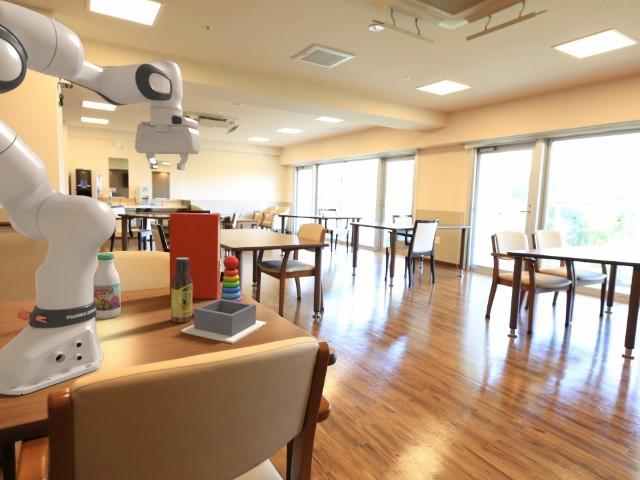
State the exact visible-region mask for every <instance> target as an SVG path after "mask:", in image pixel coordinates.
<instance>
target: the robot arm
mask: <svg viewBox="0 0 640 480" xmlns="http://www.w3.org/2000/svg"><path fill="white" fill-rule="evenodd" d="M27 70H30V71H34V72H36V73H40V74H42V75H46V76H50V77H54V78H59V79H62V80H64V81H66V82H69V83H71V84H74V85H76V86H79V87H82V88H85V89H86V90H90V91H92V92H94V93H95V94H97V95H98V96H100V97H101V98H102V99H103V100H104V101H106V102H107V103H109V104H111V105H113V106H117V107H118V106H119V107H120V106H125V105H131V104H144V103H149V104H150V106H149V121H143V120H142V121H140V123H138V125H137V126H136V134H135V141H134V142H135V143H134V148H135V151H136V152H137V153H138V154H144V155H145V158H146V159H147V161H148V163H149V169H150V170H158V169H159V167H158V166H159V163H156V161H155V158H156V154H157V155H158V154H159V155H179V158H180V161H179V163H178V162H177V163H176V169H177V170H179V171H185V170H186V163H187V162H188V159H189V155H198V154H199V152H200V151H201V139H200V137H201V136H200V133H199V130H198V128H199V122H198V121H196V120H195V119H192V118H189V117H187V116H186V115H184V109H183V107H182V101H183V97H184V86H183V84H184V83H183V77H182V76H183V75H182V72H181V69H180V67H179V66H178V65H177V63H175V62H174V61H172V60H169V59H166V58H154V59H153V60H152V61H149V62H145V63H144V62H142V63H134V64H133V63H131V64H125V65H117V66H116V65H111V66H110V65H109V66H108V65H107V66H102V67H101V66H98V65H96V64H94V63H91V62H90V61H88V60H85V50H84V46H83V44H82V41H81V39H80V37H79V35H77V33H76V32H74V31H73V30H72V29H71V28H69V27H67V26H65V25H64V24H63V23H62V22H59V21H57V20H55V19H53V18H52V17H49V16H47V15H44V14H42V13H39V12H37V11H35V10H32V9H29V8H27V7H24V6H21V5H19V4H15V3H13V2H9V1H5V0H0V95H3V94H6V93H9V92H12V91H13V90H15V89H16V88H18V87H19V86H20V85H22V83H23V81H24V80H25V78H26V75H27ZM47 173H48V168H47V165H46V164H45V162H44V161H43V160H42V159H41V158H40V157H39V156H38V154H37V153H35V151H34V150H33V149H32V148H30V147H29V145H28V144H27V143H26V142H25V141H24V140H23V139H22V138H21V137H20V136H19V135H18V134H17V133H16V132H15V131H14V130H13V129H12V128H11V127H10V126H9V125H8V124H7V123H6V122H4V121H3V120H2V119H1V118H0V207H2V209H3V210H4V211H5V213H6V214H7V215H8V220H9V223H10V225H11V227H12V228H13V230H15V231H16V232H17V233H18V234H20V235H22V236H24V237H26V238H29V239H31V240H34V241H37V242H45V243H46V242H47V243H48V251H47V254H46V257H45V259H44V262H43V263H42V264H40V265H39V266H38V267H37V269H36V271H35V273H34V279H35V280H34V281H35V284H34V285H35V301H36V302H35V303H36V304H35V305H34V308H33V309H32V311H29V310H25V309H21V310H18V311H17V313H16V315H15V316H16V318H17V319H19V320H23V321H28V322H27V323H28V325H26V326H25V327H24V328H23V329H22V330H20V332H19V333H17V335H16V336H14V337H13V338H12V339H11V340H10V341H9V342H7V343H6V344H5V345H4V346H2V347H1V348H0V395H8V396H15V395H16V396H22V395H21V394H23V395H27V394H29V393H32V392H36V391H38V390H41V389H44V388H47V387H51V386H53V385H55V384H58V383H62V382H64V381H67V380H70V379H73V378H76V377H79V376H82V375H86V374H88V373H90V372H93V371H96V370H98V369H100V363H101V361H102V360H103V358H104V353H103V351H102V348H101V345H100V341H99V340H100V339H99V338H98V332H97V331H98V330H97V324H96V319H97V318H96V314H97V312H96V300H95V299H94V274H95V273H94V272H95V271H94V270H95V265H96V262H97V261H96V260H97V255H98V254H99V251H100V250H101V247H102V246H103V245H104V243H105V242H107V241H108V240H109V239H110V238H111V237H112V235H113V234H114V232H115V229H116V225H117V219H116V214H115V212H114V210H113V208H112V207H111V206H110V205H109V204H107V203H106V202H104V201H102V200H99V199H97V198H93V197H91V196H86V195H79V194H78V195H73V194H64V193H62V192H60V191H59V190H57V189H56V188H54V186H53V185H52V184H51V182H50V181H49V179H48V177H47Z"/></svg>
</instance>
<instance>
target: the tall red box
mask: <svg viewBox="0 0 640 480" xmlns="http://www.w3.org/2000/svg"><path fill="white" fill-rule="evenodd" d="M168 217H169V299H171V288H172V279H173V277H174V275H175V274H176V262H175V259H176V258H189V265H188V266H189V267H188V270H189V275H190V278H191V280H192V300H193V299H195V300H196V299H198V300H199V299H203V300H204V299H205V300H206V299H208V300H209V299H210V300H211V299H212V300H213V299H215V300H218V298H219V296H220V295H221V222H222V221H221V214H220V213H199V212H198V213H192V212H191V213H190V212H171V213H169V216H168Z"/></svg>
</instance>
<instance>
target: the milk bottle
mask: <svg viewBox="0 0 640 480" xmlns="http://www.w3.org/2000/svg"><path fill="white" fill-rule="evenodd" d="M96 260H97V262H98V264H97V268H96V271H94V272H95V273H94V299H95V300H96V312H97V314H96V318H95V319H98V320H107V319H114V318H117V317H119V316H120V315H121V313H122V305H121V303H122V302H121V300H122V299H121V296H122V295H121V279H120V275H119V273H118V271H117V269H116V266H115V264H114V262H115V254H114V253H109V252H108V253H107V252H104V253H98V255H97V258H96Z"/></svg>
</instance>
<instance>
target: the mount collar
mask: <svg viewBox="0 0 640 480" xmlns="http://www.w3.org/2000/svg"><path fill="white" fill-rule="evenodd" d="M265 324H266V325H268V323H267V321H262V320H257V304H253V303H248V302H247V303H246V302H242V301H241V302H236V301H231V300H225V299H221V298H219V299H218V298H217V299H215V300H214V301H211V302H208V303H206V304H204V305H200V306H198V307H195V308H194V309H193V324H192V325H190V326H188V327H185V328H183V329H181V330H180V333H184V334H187V335H193V336H197V337H200V338H206V339H211V340H214V341H215V340H216V341H218V342H219V341H220V342H224V343H229V344H232V345H233V344H235V343H237V342H238V341H241V340H242V339H244V338H245V337H248V336H249V335H251V334H252V333H254V332H256V331H258V330H259V329H261V328H262V326H263V325H264V326H266V325H265ZM264 326H263V327H264ZM260 327H261V328H260ZM255 330H256V331H255ZM250 333H251V334H250Z"/></svg>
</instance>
